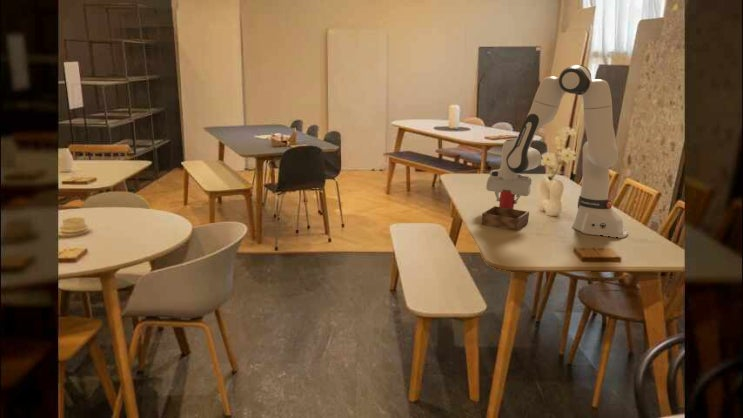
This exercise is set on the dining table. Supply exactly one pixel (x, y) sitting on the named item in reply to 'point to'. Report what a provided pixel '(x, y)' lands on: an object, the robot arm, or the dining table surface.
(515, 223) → the walnut box
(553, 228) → the dining table surface
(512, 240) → the dining table surface
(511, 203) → the beer can
